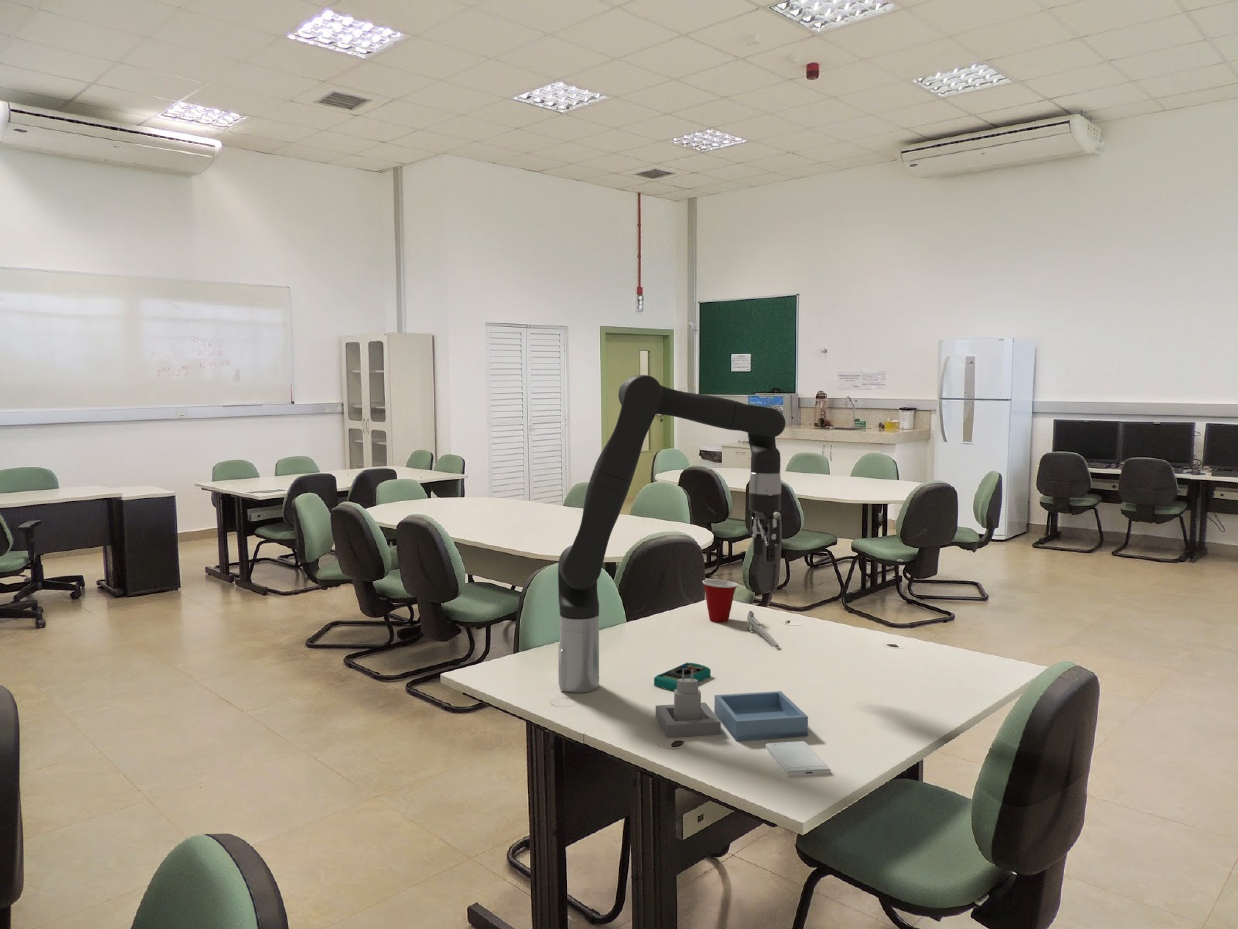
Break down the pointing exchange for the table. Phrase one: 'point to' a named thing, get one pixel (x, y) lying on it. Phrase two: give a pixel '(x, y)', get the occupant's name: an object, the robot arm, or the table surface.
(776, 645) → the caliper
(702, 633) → the table surface
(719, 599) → the plastic cup
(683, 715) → the power adapter
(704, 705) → the adapter holder
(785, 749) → the hard drive
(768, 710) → the parts tray
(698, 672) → the digital multimeter
